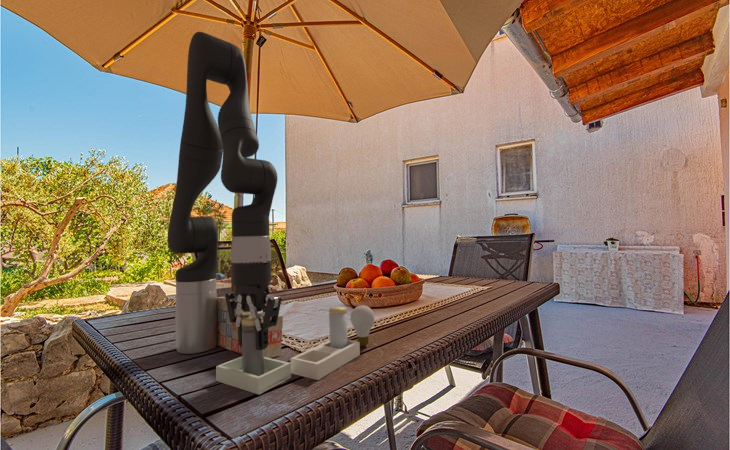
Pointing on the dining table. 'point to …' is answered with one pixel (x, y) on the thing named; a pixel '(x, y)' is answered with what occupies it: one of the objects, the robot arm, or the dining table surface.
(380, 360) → the dining table surface
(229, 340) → the stack of blocks
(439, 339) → the dining table surface
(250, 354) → the cylinder
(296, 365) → the tray
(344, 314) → the fuse
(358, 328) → the light bulb
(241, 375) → the parts tray
